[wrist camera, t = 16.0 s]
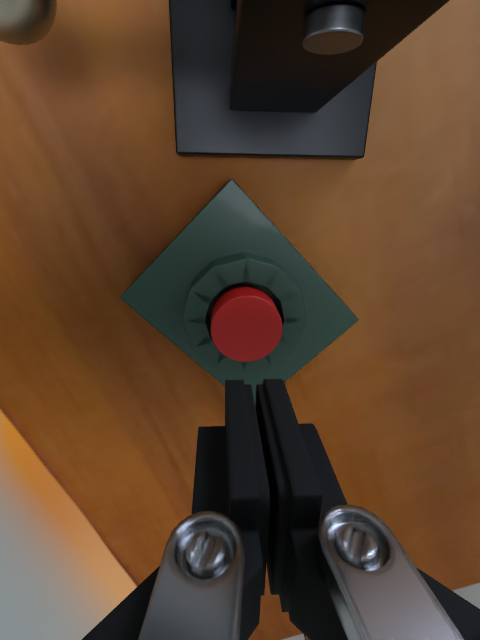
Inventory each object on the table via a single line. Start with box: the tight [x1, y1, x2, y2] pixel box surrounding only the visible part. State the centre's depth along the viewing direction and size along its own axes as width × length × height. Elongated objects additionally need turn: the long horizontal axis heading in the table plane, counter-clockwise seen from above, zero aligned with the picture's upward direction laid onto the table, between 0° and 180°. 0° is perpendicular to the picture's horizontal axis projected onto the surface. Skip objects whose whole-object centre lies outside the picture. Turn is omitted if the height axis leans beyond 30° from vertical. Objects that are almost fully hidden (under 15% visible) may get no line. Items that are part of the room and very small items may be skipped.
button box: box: [120, 179, 359, 404], centre depth 20 cm, size 11×9×4 cm
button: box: [211, 286, 282, 362], centre depth 17 cm, size 4×4×2 cm
